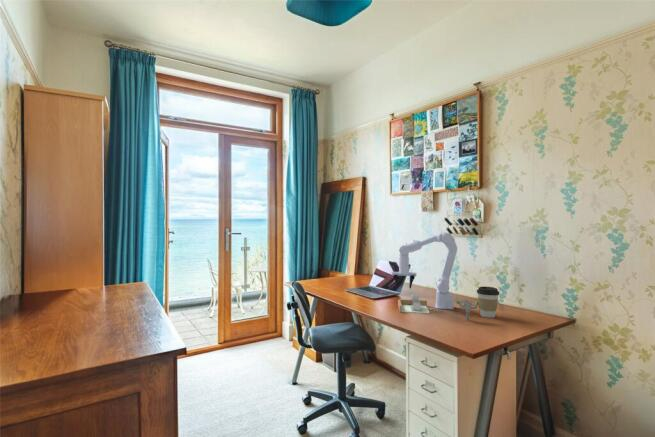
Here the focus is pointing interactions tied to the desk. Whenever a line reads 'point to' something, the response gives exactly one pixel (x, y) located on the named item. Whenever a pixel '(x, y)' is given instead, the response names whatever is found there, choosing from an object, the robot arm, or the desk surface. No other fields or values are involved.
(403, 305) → the corner arena
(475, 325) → the desk surface
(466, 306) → the mechanical component
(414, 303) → the bracket
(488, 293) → the coffee cup
